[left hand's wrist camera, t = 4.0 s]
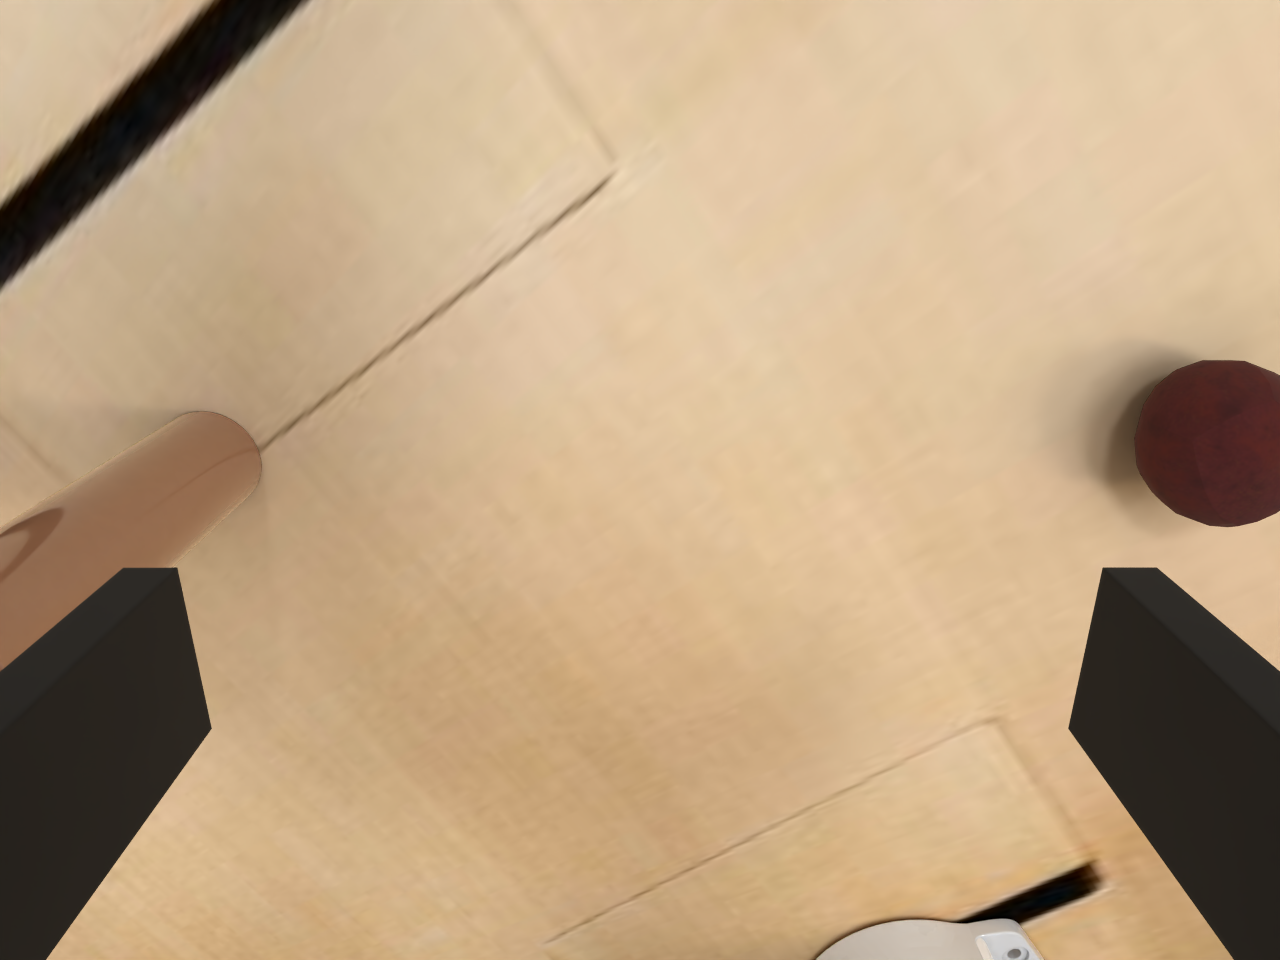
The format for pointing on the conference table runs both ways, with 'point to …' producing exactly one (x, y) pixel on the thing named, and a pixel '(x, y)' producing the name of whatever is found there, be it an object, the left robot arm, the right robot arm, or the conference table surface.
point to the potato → (1213, 442)
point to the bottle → (121, 521)
